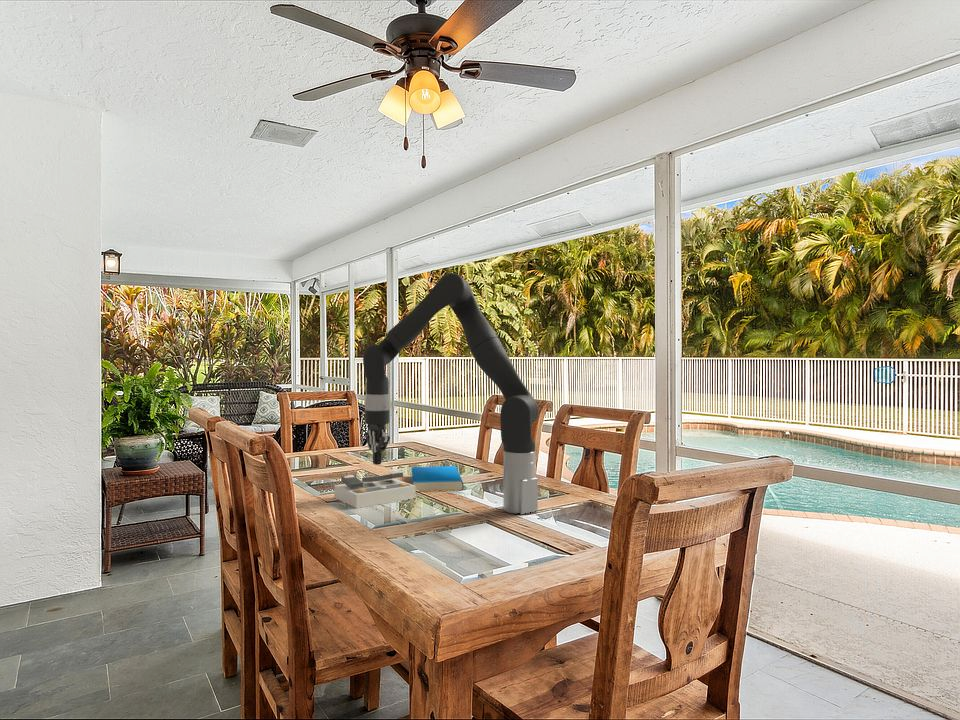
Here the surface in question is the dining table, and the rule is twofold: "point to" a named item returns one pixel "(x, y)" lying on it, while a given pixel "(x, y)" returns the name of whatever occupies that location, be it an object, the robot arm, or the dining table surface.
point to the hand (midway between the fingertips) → (376, 464)
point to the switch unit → (375, 493)
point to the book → (437, 478)
